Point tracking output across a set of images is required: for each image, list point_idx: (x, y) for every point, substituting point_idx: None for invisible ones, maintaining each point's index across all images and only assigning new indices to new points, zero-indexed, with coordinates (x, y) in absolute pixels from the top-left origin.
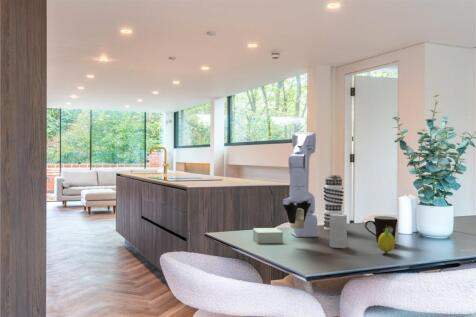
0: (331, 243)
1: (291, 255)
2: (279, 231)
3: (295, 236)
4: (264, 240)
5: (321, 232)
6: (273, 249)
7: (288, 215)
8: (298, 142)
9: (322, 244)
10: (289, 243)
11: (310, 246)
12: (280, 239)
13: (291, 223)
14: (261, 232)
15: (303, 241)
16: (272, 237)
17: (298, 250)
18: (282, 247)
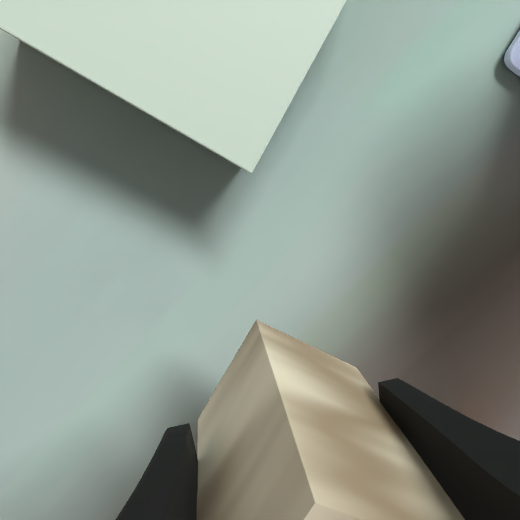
0: None
1: (19, 503)
2: (258, 111)
3: (507, 50)
4: (82, 76)
5: None
6: (9, 320)
7: (135, 515)
8: None
9: (431, 367)
10: (268, 222)
11: None
12: (226, 159)
13: (235, 385)
14: (21, 29)
15: (412, 225)
16: (154, 117)
17: (158, 424)
18: (119, 302)
